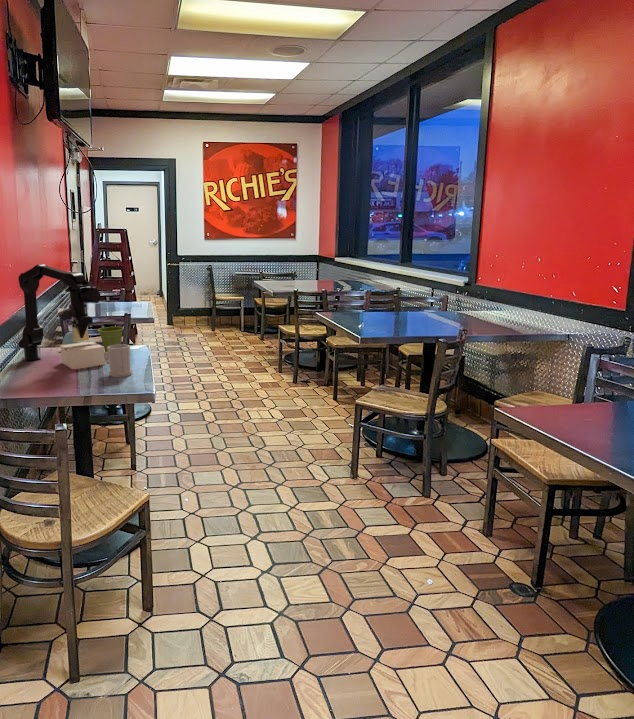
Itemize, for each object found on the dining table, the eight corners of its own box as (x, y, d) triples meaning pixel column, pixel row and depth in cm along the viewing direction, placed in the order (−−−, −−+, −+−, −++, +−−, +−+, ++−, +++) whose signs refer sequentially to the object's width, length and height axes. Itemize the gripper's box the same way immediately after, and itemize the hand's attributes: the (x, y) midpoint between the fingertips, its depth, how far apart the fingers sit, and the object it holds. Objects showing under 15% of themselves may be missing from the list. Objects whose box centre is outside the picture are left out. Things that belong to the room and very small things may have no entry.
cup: (104, 378, 257) (102, 349, 254) (105, 373, 265) (103, 345, 263) (131, 376, 260) (129, 347, 257) (132, 371, 268) (129, 343, 265)
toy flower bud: (90, 332, 313) (63, 332, 308) (90, 350, 315) (64, 350, 310) (88, 330, 319) (62, 330, 314) (88, 347, 321) (62, 348, 316)
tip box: (62, 362, 285) (60, 345, 284) (93, 358, 293) (92, 341, 292) (72, 369, 273) (71, 351, 271) (105, 364, 281) (103, 346, 279)
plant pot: (102, 349, 313) (100, 327, 310) (127, 348, 314) (125, 326, 311) (97, 354, 301) (95, 331, 299) (123, 354, 302) (121, 330, 300)
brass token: (73, 340, 280) (72, 327, 278) (87, 339, 283) (86, 325, 282) (74, 341, 278) (73, 327, 277) (88, 339, 282) (87, 326, 280)
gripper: (52, 301, 280) (55, 336, 283) (64, 306, 265) (68, 343, 268) (78, 299, 286) (81, 333, 290) (91, 303, 271) (94, 339, 275)
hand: (80, 337), depth 280 cm, fingers closed on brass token, 2 cm apart
